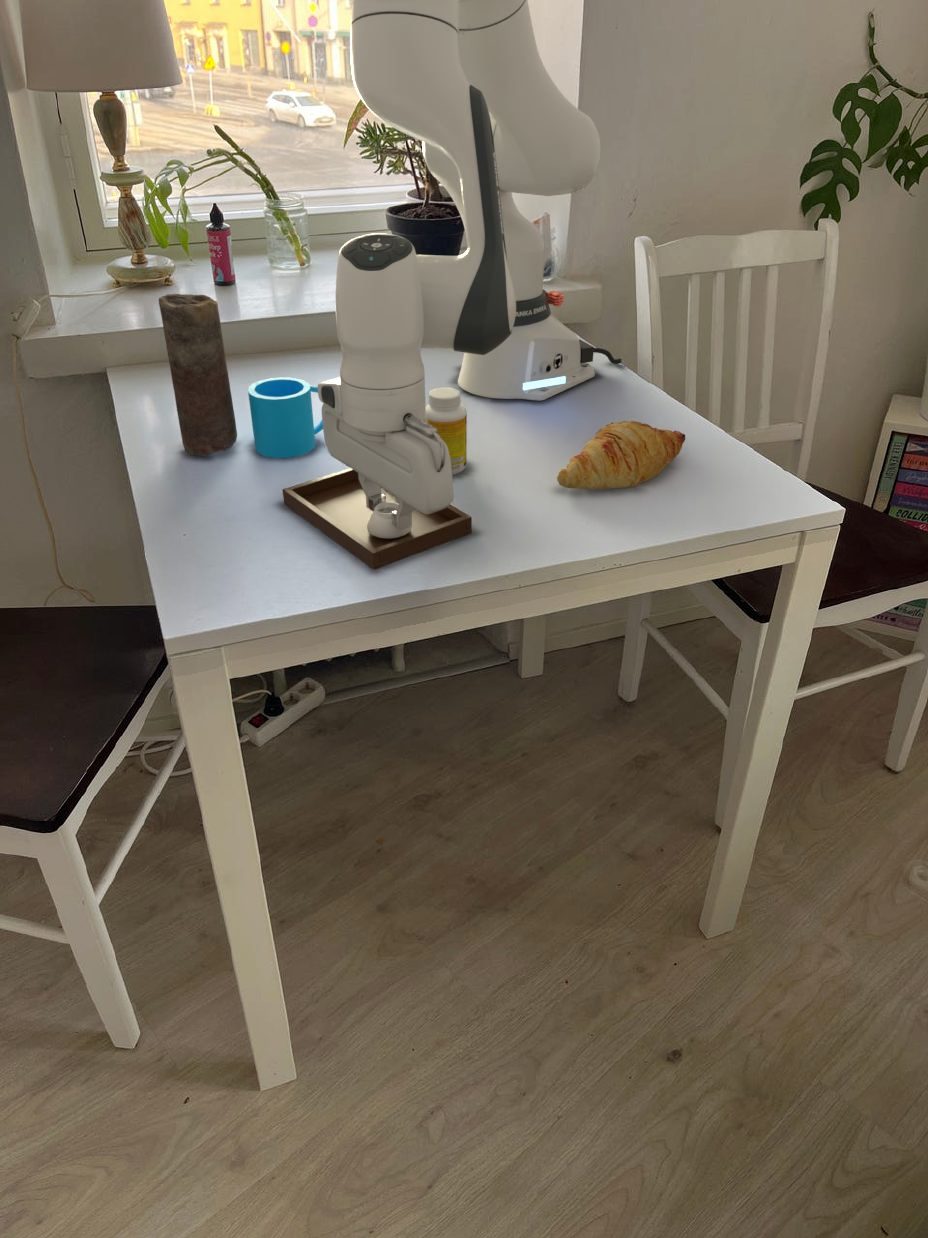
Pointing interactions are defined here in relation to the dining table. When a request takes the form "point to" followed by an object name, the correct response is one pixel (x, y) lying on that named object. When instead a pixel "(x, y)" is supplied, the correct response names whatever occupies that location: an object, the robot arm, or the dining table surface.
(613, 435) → the croissant
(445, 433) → the supplement bottle
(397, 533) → the lidless jar
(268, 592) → the dining table surface
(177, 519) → the dining table surface
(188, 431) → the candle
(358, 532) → the serving tray
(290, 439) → the mug
